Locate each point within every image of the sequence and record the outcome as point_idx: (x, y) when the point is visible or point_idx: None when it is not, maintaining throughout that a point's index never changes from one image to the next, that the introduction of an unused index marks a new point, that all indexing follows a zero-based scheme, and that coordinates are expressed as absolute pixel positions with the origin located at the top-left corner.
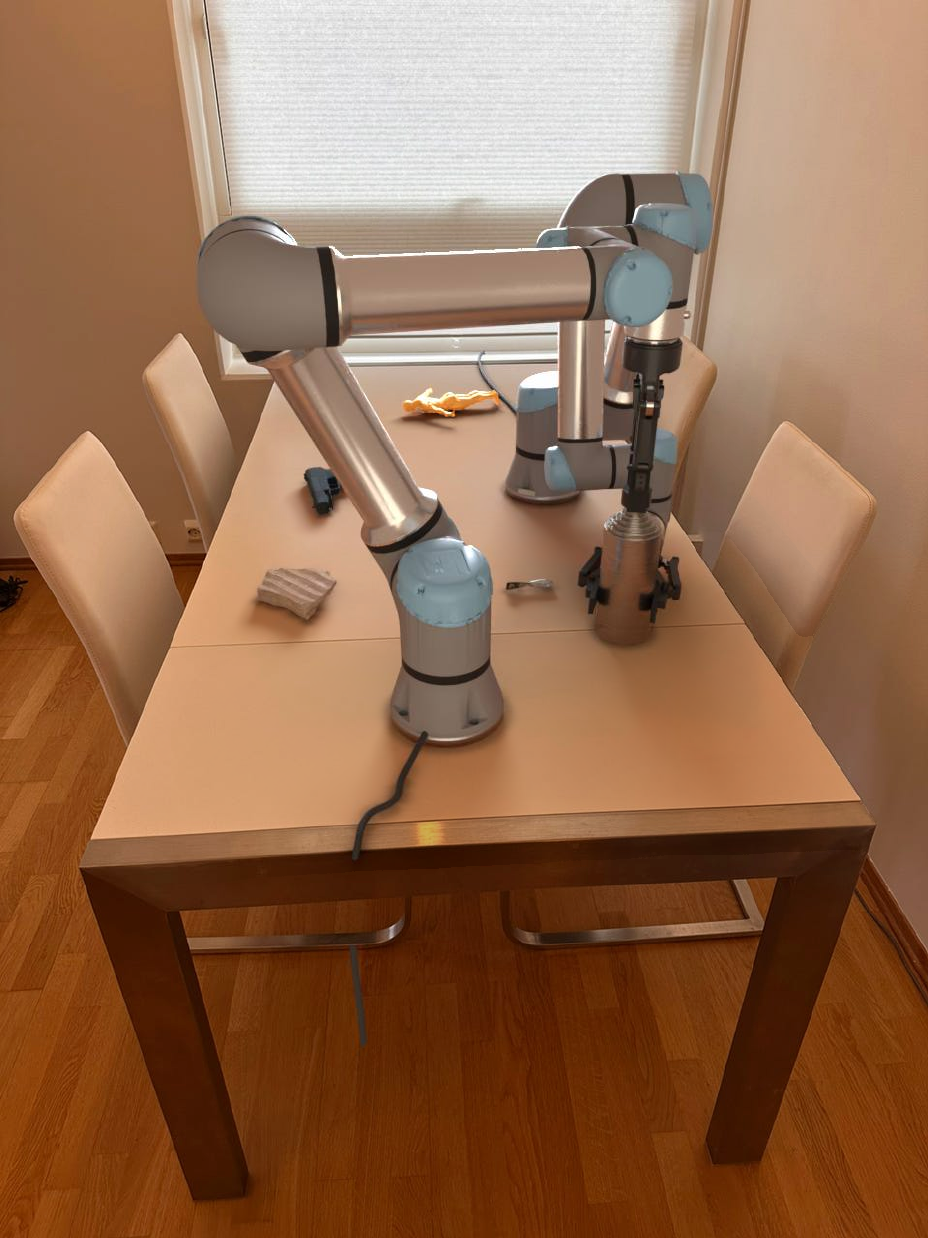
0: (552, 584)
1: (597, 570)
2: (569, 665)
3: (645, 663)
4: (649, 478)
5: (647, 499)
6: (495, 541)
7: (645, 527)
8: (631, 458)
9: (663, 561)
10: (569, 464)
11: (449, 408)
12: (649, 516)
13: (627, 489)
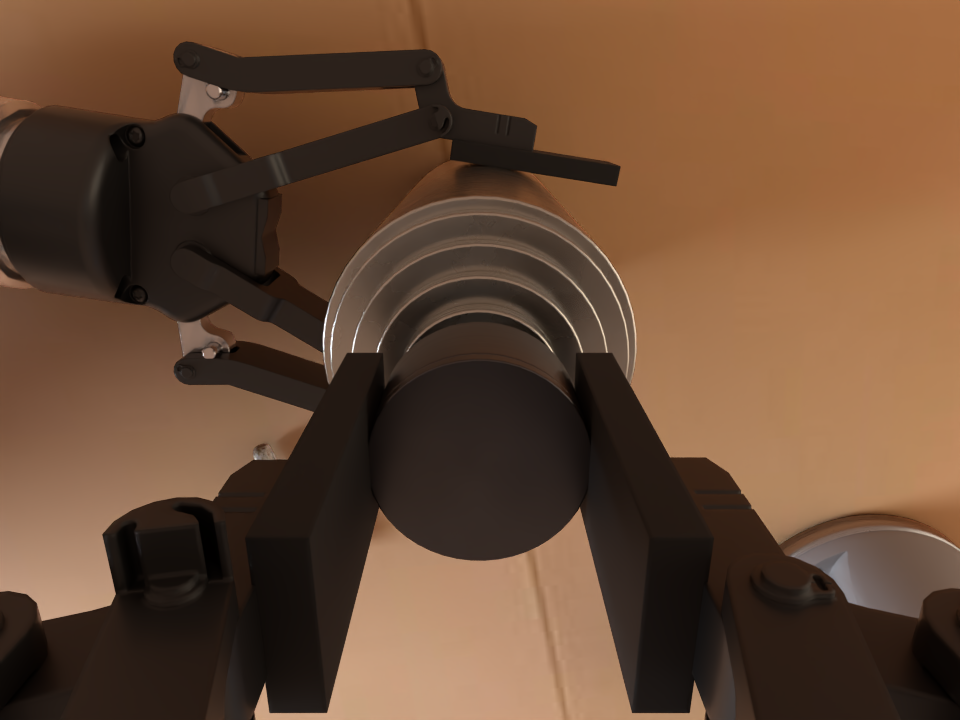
0: (265, 443)
1: None
2: (664, 379)
3: (646, 173)
4: (678, 483)
5: (633, 392)
6: (35, 598)
7: (576, 312)
8: (335, 673)
9: (203, 112)
10: None
11: None
12: (473, 294)
13: (496, 530)
